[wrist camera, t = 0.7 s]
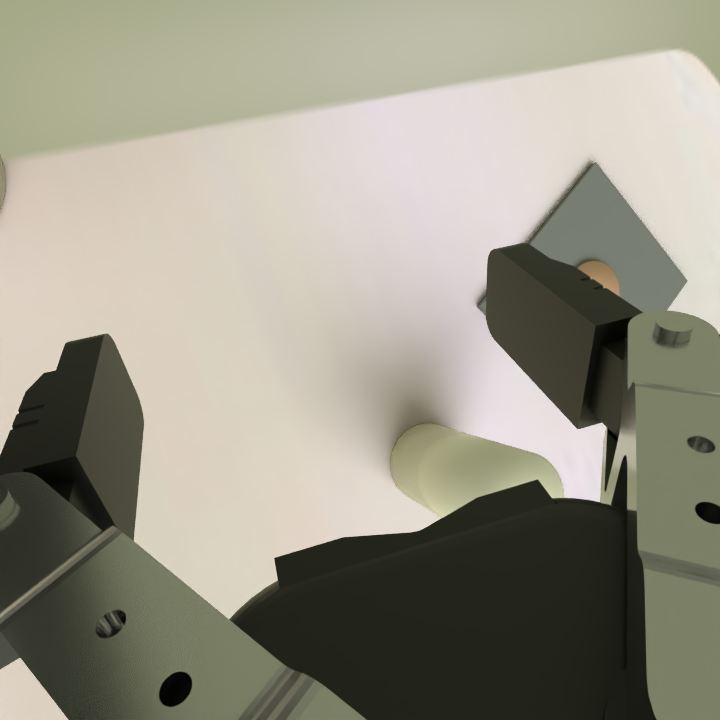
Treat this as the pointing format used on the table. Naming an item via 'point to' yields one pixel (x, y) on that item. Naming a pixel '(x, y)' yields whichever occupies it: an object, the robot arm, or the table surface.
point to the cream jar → (462, 468)
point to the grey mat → (609, 242)
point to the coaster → (601, 275)
